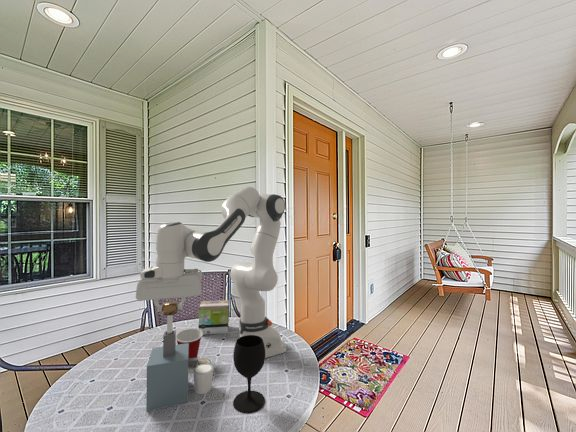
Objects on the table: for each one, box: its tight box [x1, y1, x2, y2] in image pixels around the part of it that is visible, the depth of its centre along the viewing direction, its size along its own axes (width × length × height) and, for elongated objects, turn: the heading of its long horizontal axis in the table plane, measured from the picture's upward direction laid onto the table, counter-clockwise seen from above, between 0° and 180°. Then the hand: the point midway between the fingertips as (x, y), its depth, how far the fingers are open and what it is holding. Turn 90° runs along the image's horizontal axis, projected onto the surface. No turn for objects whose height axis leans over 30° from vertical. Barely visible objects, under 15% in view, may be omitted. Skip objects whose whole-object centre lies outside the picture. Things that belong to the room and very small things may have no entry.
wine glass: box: [232, 335, 266, 414], centre depth 87 cm, size 10×10×20 cm
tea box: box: [198, 299, 230, 335], centre depth 142 cm, size 15×10×15 cm, turn 102°
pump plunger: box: [161, 300, 179, 335], centre depth 90 cm, size 5×5×11 cm
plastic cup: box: [176, 327, 204, 358], centre depth 110 cm, size 11×11×12 cm
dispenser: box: [145, 329, 199, 412], centre depth 91 cm, size 15×12×21 cm
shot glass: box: [193, 363, 214, 395], centre depth 94 cm, size 7×7×7 cm
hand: (169, 310), depth 90 cm, fingers closed on pump plunger, 5 cm apart
